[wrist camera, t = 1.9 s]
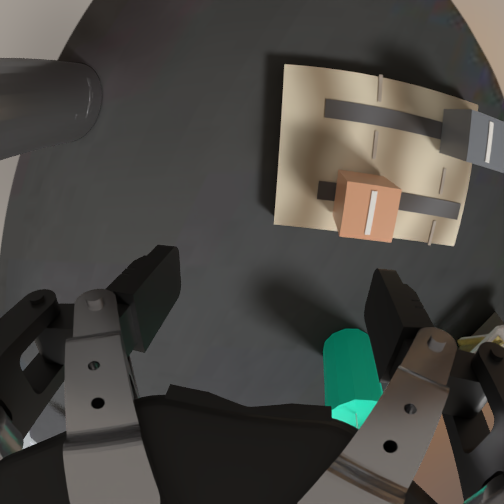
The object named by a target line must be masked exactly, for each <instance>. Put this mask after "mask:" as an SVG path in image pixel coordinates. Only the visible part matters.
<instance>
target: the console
mask: <svg viewBox="0 0 504 504" xmlns="http://www.w3.org/2000/svg"><path fill="white" fill-rule="evenodd" d="M444 109H472V110H475V111H477V112H478V105H476V104H474V103H471V102H468V101H465V100H462V99H459V98H457V97H454V96H450V95H447V94H444V93H441V92H438V91H434V90H431V89H427V88H424V87H420V86H416V85H413V84H409V83H405V82H400V81H396V80H392V79H387V78H383V75H380V74H379V77H378V76H373V75H367V74H362V73H356V72H350V71H343V70H336V69H329V68H321V67H312V66H301V65H289V64H284V81H283V99H282V115H281V131H280V146H279V161H278V175H277V189H276V202H275V215H274V224H276V225H286V226H296V227H305V228H315V229H324V230H333V231H338V230H337V227H336V224H335V221H334V218H333V208H334V200H335V193H336V185H337V176H338V170H346V171H353V172H360V173H367V174H373V175H379V176H384V177H385V178H387V179H388V180H390V181H391V182H392V183H394V184H395V185H396V186H398V187H399V188H400V189H402V192H401V197H400V203H399V208H398V213H397V218H396V223H395V228H394V233H393V237H392V238H398V239H406V240H413V241H421V242H428V245H431V243H435V244H442V245H449V246H454V244H455V241H456V237H457V233H458V229H459V225H460V221H461V217H462V213H463V209H464V204H465V199H466V195H467V190H468V184H469V179H470V173H471V167H472V163H469V162H466V161H463V160H460V159H457V158H454V157H451V156H448V155H445V154H442V153H439V150H440V142H441V133H442V123H443V112H444Z"/></svg>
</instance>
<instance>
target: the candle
mask: <svg viewBox="0 0 504 504" xmlns="http://www.w3.org/2000/svg"><path fill="white" fill-rule="evenodd" d="M323 362H324V385H325V406H331V407H332V418H334V419H338V420H340V421H343V422H346V423H348V424H350V425H352V426H354V427H356V428H357V429H360V427H361V426H362V424H363V423H364V421H365V420H366V418H367V417H368V415H369V414H370V412H371V411H372V409H373V408H374V406H375V405H376V403H377V402H378V400H379V399H380V397H381V395H382V394H383V390H382V386H381V383H379V378H378V374H377V369H376V365H375V360H374V356H373V352H372V347H371V343H370V339H369V336H368V334H367V333H365V332H363V331H361V330H359V329H343V330H340V331H338V332H335V333H333V334H332V335H331V336H330V337H329V338H328V339H327V340H326V341H325V343H324V348H323Z"/></svg>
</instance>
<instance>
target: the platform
mask: <svg viewBox="0 0 504 504" xmlns="http://www.w3.org/2000/svg"><path fill="white" fill-rule="evenodd" d="M457 342H459V343H460V344H459V343H458V344H459V346H460V345H461V346H460V347H459V348H458V349H459V350H463V351H467V352H471V353H476V352H477V350H478V348H479V346H480V345H481V344H482V343H484V342H493V343H496V344H499V345H500V346H502V347H504V323H503V321H502V320H501V318H500V317H499V316H498V314H497V313H496V312H494V314H493V315H492V316H491V317H490V318H489V319H488V320H487V321H486V322H485V323H484V324H483V325H482V326H481V327H480V328H479V329H478V330H477V331H476V332H475V333H474V334H473V335H472V336H469V337H461V338H460V339H459V340H458V341H457Z"/></svg>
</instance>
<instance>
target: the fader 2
mask: <svg viewBox="0 0 504 504" xmlns="http://www.w3.org/2000/svg"><path fill="white" fill-rule="evenodd" d="M439 153H442V154H445V155H448V156H451V157H454V158H457V159H460V160H463V161H466V162H469V163H473V164H476V165H479V166H483V167H486V168H489V169H492V170H496V171H499V172H502V173H503V172H504V122H503V121H500V120H498V119H496V118H493V117H491V116H488V115H485V114H483V113H480V112H477V111H475V110H472V109H444V112H443V123H442V133H441V142H440V150H439Z"/></svg>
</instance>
